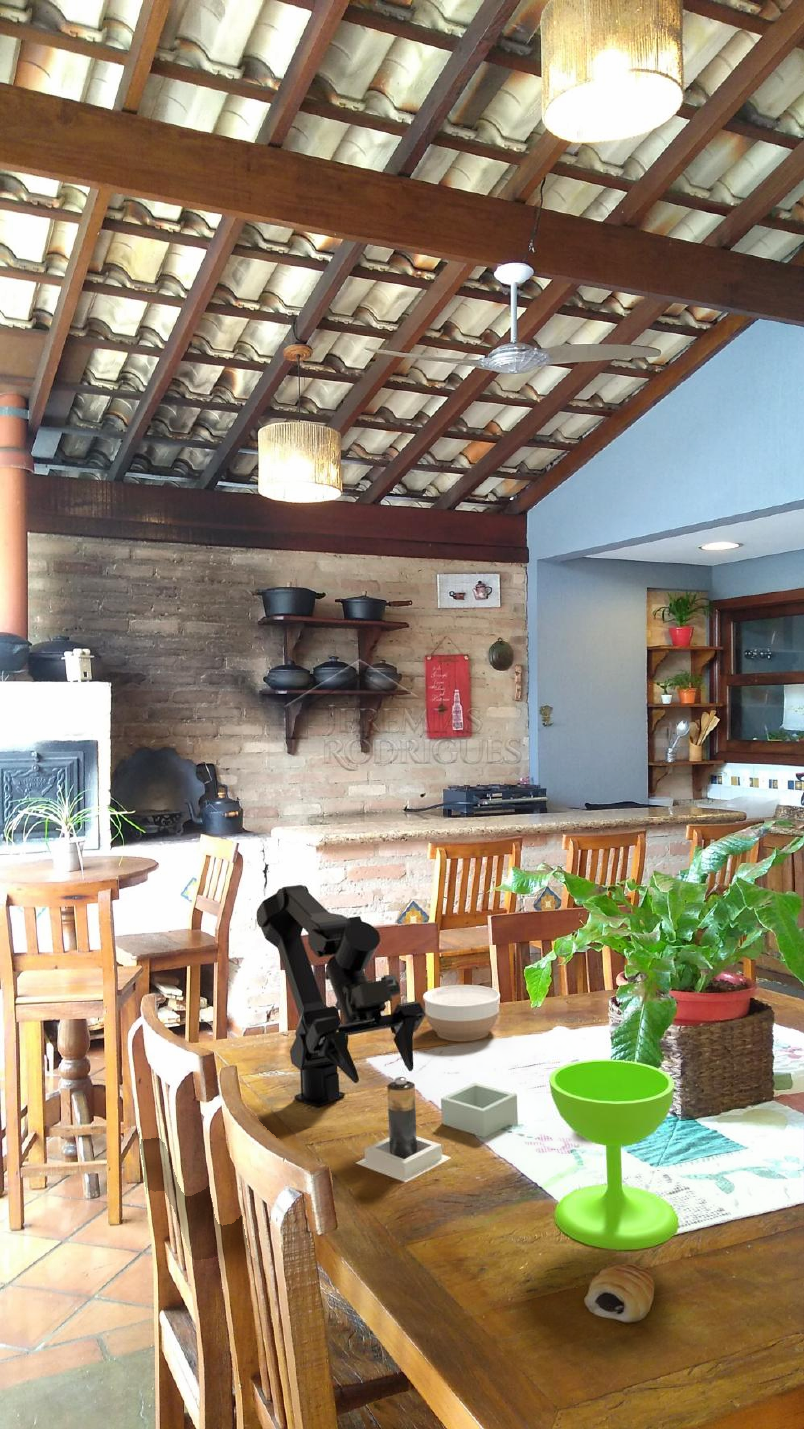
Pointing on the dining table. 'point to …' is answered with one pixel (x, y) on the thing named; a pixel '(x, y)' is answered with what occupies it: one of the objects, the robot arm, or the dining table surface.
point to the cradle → (399, 1167)
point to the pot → (479, 1109)
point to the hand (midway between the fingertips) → (384, 1075)
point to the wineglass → (614, 1150)
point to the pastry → (621, 1293)
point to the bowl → (462, 1011)
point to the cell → (402, 1118)
